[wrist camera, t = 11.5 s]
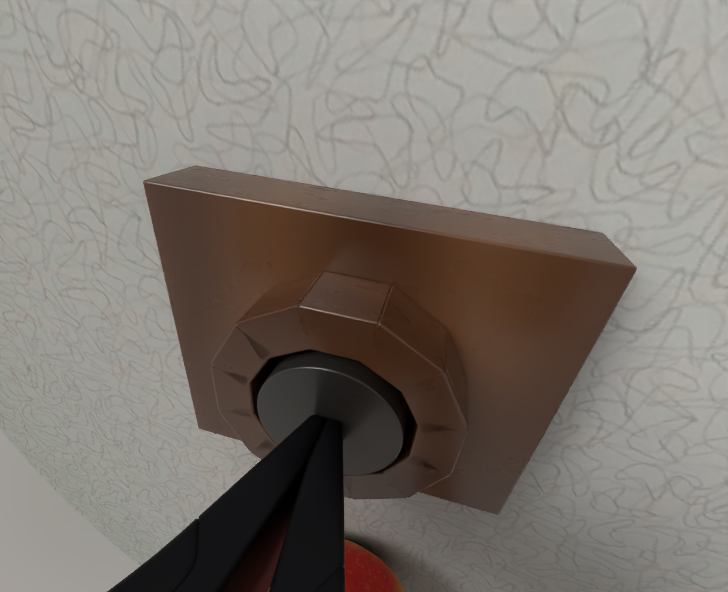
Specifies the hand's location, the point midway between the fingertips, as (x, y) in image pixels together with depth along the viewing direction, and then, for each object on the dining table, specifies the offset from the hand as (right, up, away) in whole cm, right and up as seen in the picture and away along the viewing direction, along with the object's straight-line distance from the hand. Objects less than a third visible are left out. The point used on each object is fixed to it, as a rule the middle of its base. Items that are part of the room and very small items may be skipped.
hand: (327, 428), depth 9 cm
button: (0, +1, +1) cm, 2 cm away
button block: (+1, +2, +4) cm, 4 cm away
